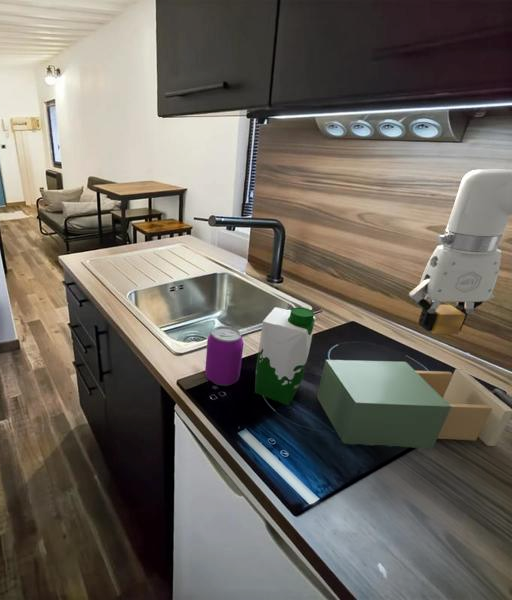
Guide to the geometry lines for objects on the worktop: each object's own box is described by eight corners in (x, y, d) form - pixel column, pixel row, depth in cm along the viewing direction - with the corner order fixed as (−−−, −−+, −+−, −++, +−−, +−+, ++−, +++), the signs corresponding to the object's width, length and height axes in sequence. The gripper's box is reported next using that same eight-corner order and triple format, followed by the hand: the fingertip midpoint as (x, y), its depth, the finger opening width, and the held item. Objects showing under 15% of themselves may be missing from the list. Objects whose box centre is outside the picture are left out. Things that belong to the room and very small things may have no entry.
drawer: (479, 402, 72) (495, 369, 69) (531, 447, 62) (553, 412, 58) (375, 397, 74) (385, 366, 71) (408, 441, 64) (422, 407, 61)
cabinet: (392, 400, 75) (405, 361, 71) (432, 448, 64) (451, 406, 60) (316, 397, 77) (325, 359, 73) (343, 444, 66) (355, 402, 62)
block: (443, 323, 76) (450, 304, 74) (458, 334, 72) (465, 314, 70) (419, 323, 77) (425, 304, 75) (433, 333, 73) (440, 314, 71)
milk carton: (292, 410, 74) (310, 324, 65) (248, 393, 79) (259, 311, 71) (304, 387, 80) (321, 306, 71) (262, 373, 85) (273, 295, 77)
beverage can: (210, 389, 81) (213, 343, 76) (201, 368, 88) (203, 325, 83) (244, 386, 81) (250, 341, 76) (232, 366, 88) (237, 323, 83)
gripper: (431, 248, 64) (403, 337, 72) (542, 245, 62) (501, 337, 70) (406, 237, 71) (383, 319, 79) (505, 234, 69) (471, 319, 76)
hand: (439, 327), depth 74 cm, fingers closed on block, 4 cm apart
